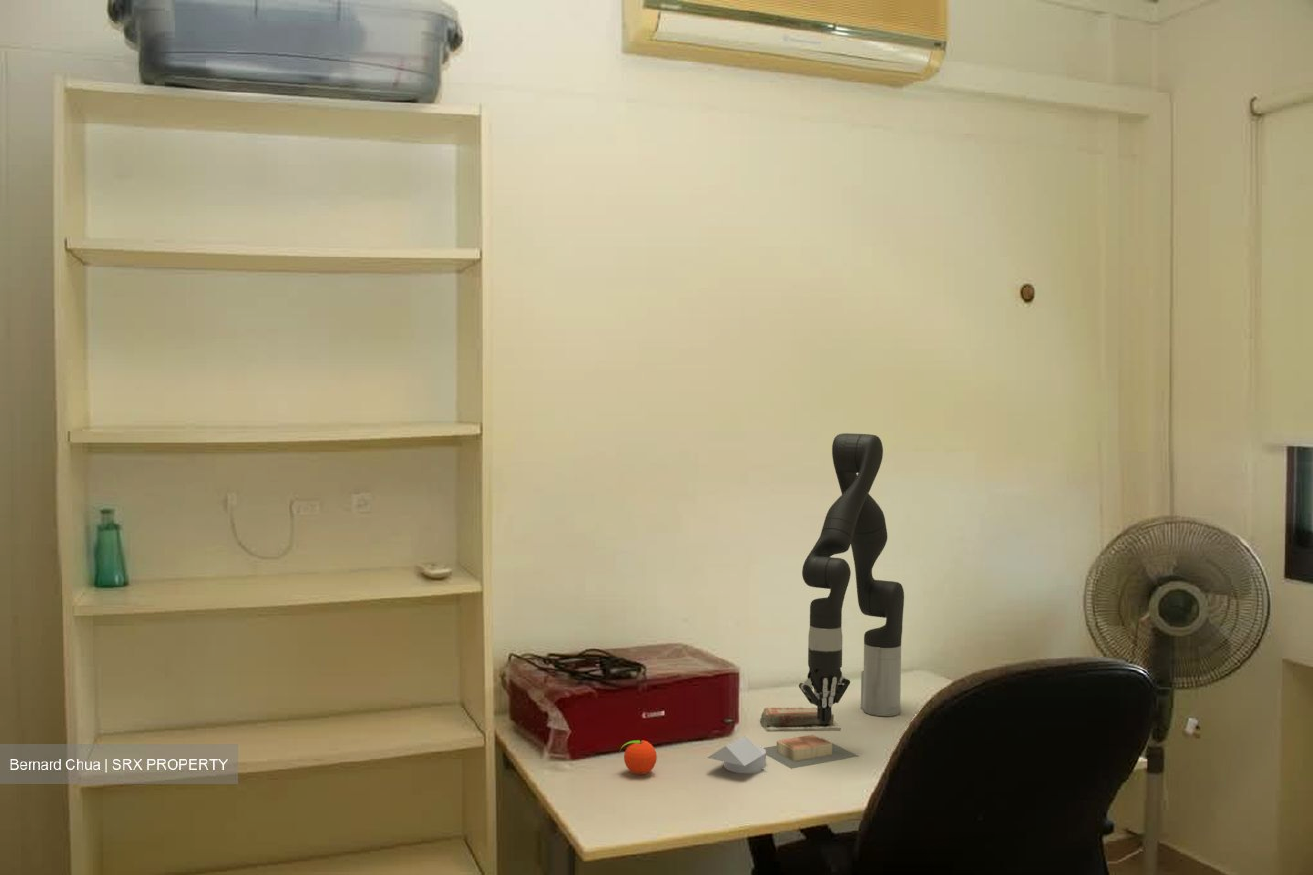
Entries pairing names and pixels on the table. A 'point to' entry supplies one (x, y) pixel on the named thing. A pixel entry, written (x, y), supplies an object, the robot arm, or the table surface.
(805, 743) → the birch tile
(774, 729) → the packaged product
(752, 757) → the wedge on round base
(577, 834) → the table surface
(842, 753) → the mat
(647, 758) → the clementine
